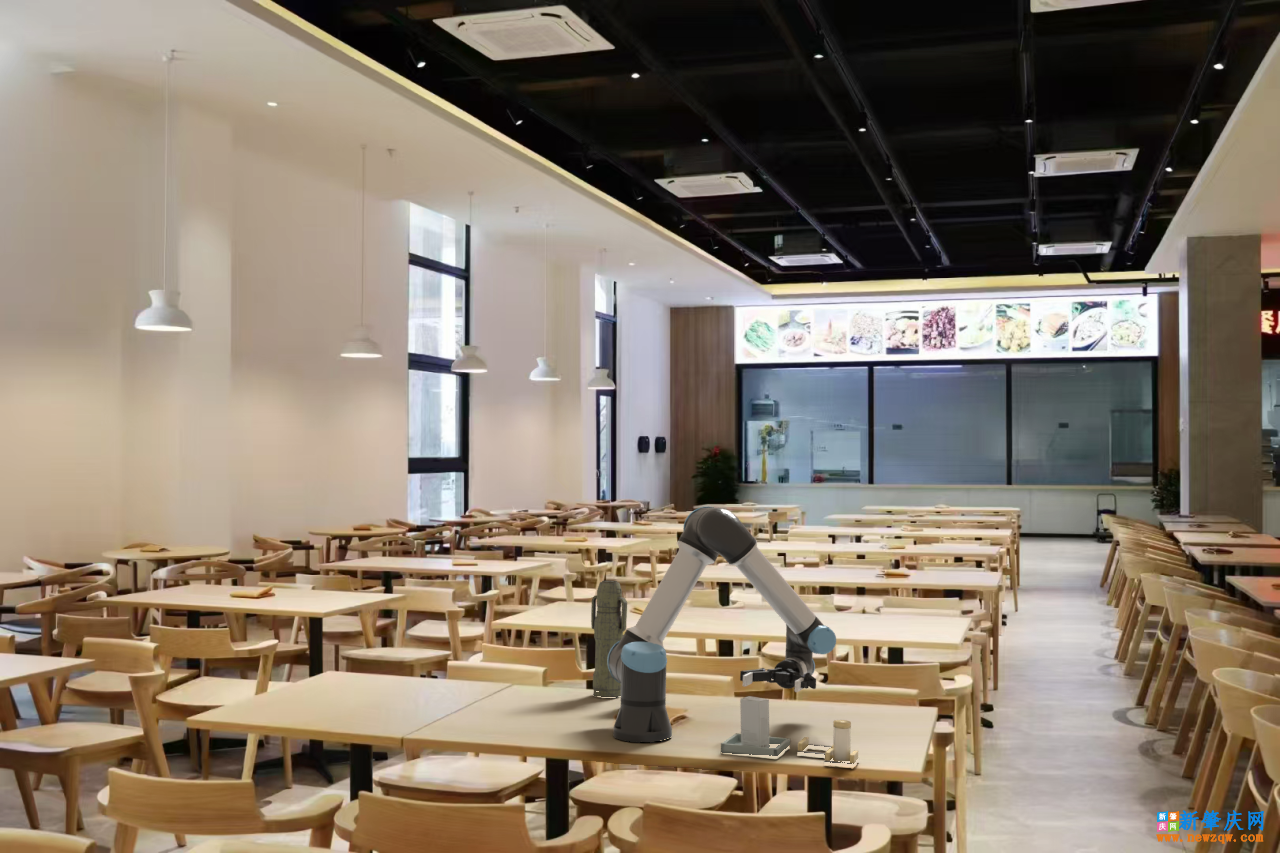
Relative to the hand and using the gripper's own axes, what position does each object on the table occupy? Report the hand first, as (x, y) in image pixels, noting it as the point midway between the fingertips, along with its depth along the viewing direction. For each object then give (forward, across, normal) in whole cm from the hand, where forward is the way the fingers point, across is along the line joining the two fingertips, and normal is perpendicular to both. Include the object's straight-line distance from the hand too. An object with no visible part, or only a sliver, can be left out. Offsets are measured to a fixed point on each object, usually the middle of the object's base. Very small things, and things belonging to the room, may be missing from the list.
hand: (769, 683), depth 293 cm
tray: (+10, 0, -15) cm, 18 cm away
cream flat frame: (+9, -18, -15) cm, 25 cm away
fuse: (+14, -22, -15) cm, 30 cm away
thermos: (-41, +61, -16) cm, 75 cm away
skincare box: (+10, +1, -14) cm, 18 cm away
